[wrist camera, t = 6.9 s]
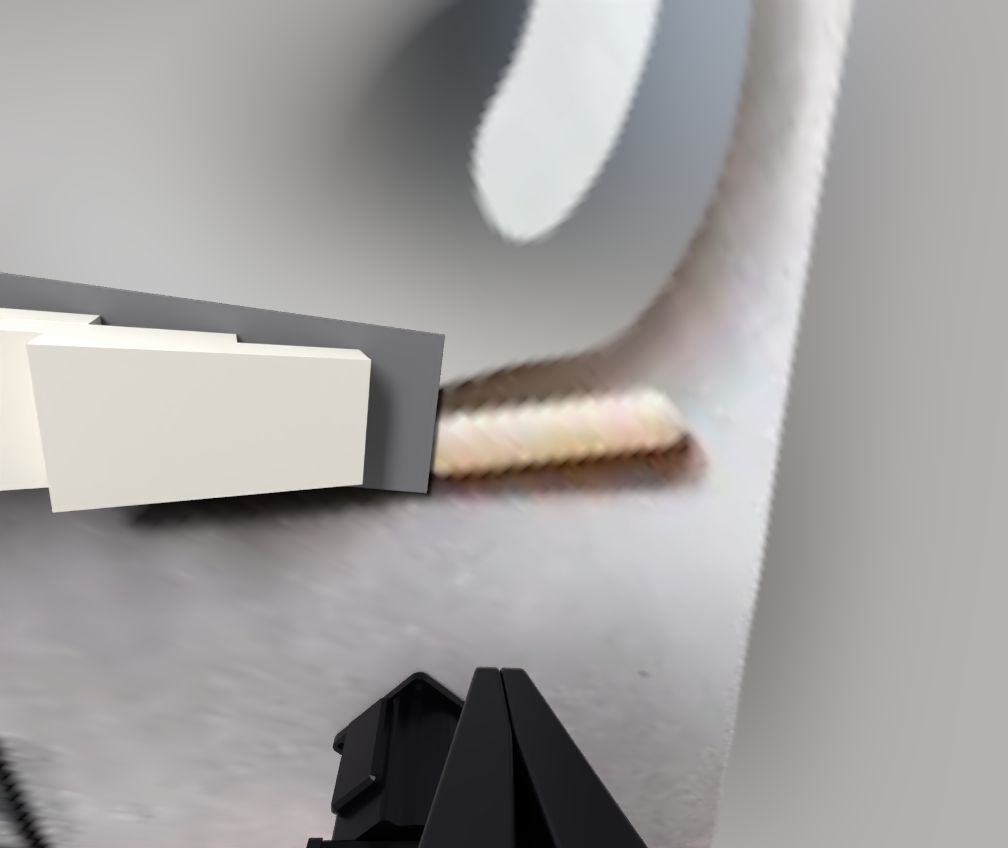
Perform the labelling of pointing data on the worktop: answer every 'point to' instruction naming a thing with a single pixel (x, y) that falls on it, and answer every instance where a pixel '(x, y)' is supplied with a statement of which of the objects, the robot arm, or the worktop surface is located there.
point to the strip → (393, 351)
